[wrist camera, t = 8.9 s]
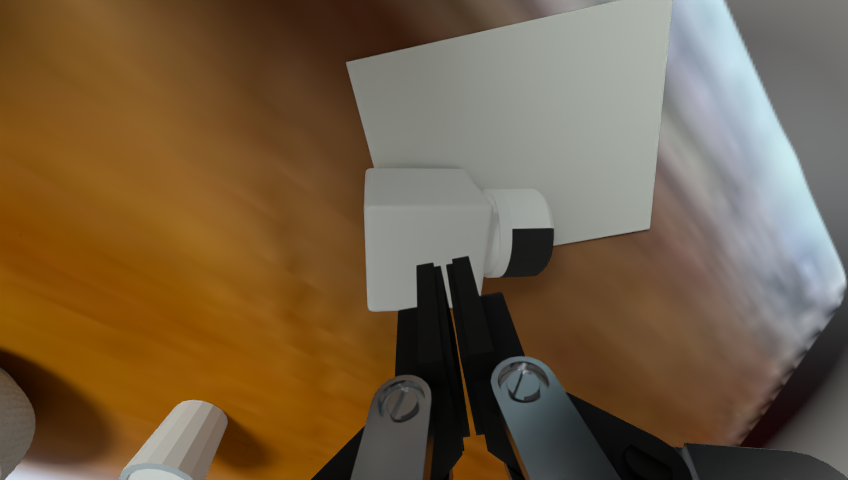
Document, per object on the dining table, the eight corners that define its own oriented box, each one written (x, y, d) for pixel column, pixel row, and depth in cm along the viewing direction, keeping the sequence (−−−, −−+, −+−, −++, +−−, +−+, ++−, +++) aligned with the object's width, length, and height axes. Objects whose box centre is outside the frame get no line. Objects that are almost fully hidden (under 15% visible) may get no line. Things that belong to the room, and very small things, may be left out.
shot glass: (153, 407, 38) (100, 476, 32) (204, 388, 37) (161, 456, 30) (197, 444, 41) (157, 514, 35) (246, 427, 40) (214, 497, 33)
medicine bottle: (368, 255, 28) (514, 251, 30) (367, 314, 22) (552, 305, 24) (365, 166, 25) (529, 167, 27) (363, 206, 19) (578, 204, 20)
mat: (347, 62, 23) (345, 62, 23) (668, -11, 22) (674, -13, 21) (402, 269, 30) (402, 272, 30) (646, 226, 29) (649, 228, 28)
